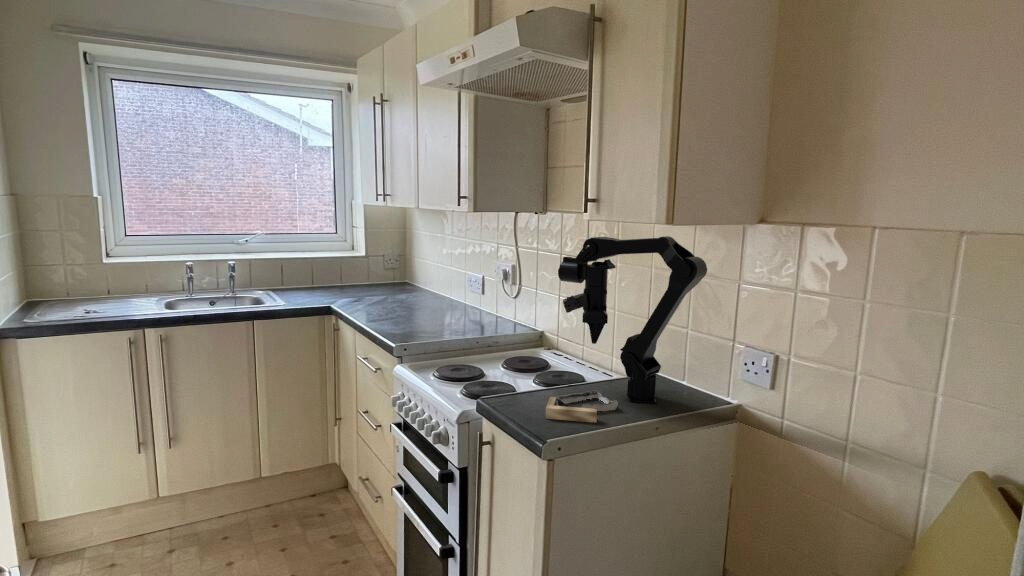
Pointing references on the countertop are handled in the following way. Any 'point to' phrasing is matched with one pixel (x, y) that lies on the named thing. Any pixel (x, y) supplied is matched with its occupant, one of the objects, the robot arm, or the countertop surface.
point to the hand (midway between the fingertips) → (593, 343)
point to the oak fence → (569, 412)
